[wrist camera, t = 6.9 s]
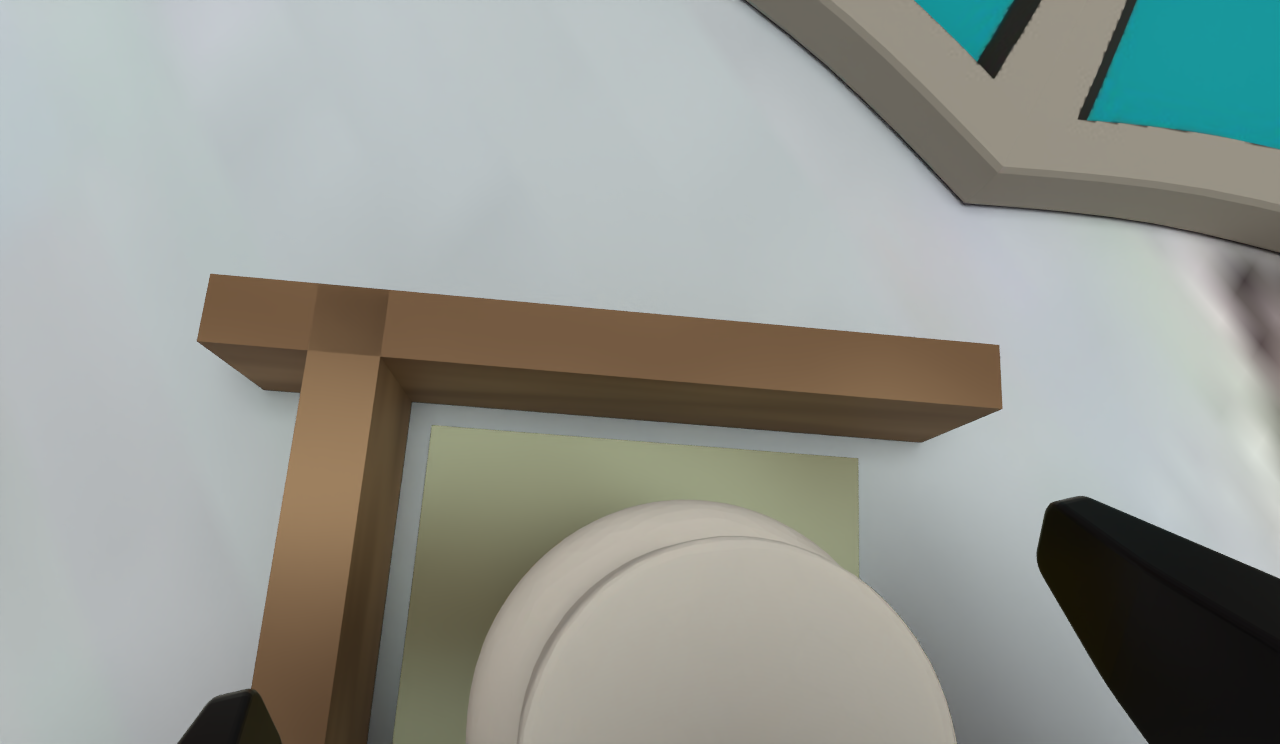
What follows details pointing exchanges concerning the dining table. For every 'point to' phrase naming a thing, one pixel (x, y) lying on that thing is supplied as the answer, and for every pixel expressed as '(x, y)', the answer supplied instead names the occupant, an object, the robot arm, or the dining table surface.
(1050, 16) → the decorative platform
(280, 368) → the wooden corner bracket
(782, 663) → the supplement bottle
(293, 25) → the dining table surface
